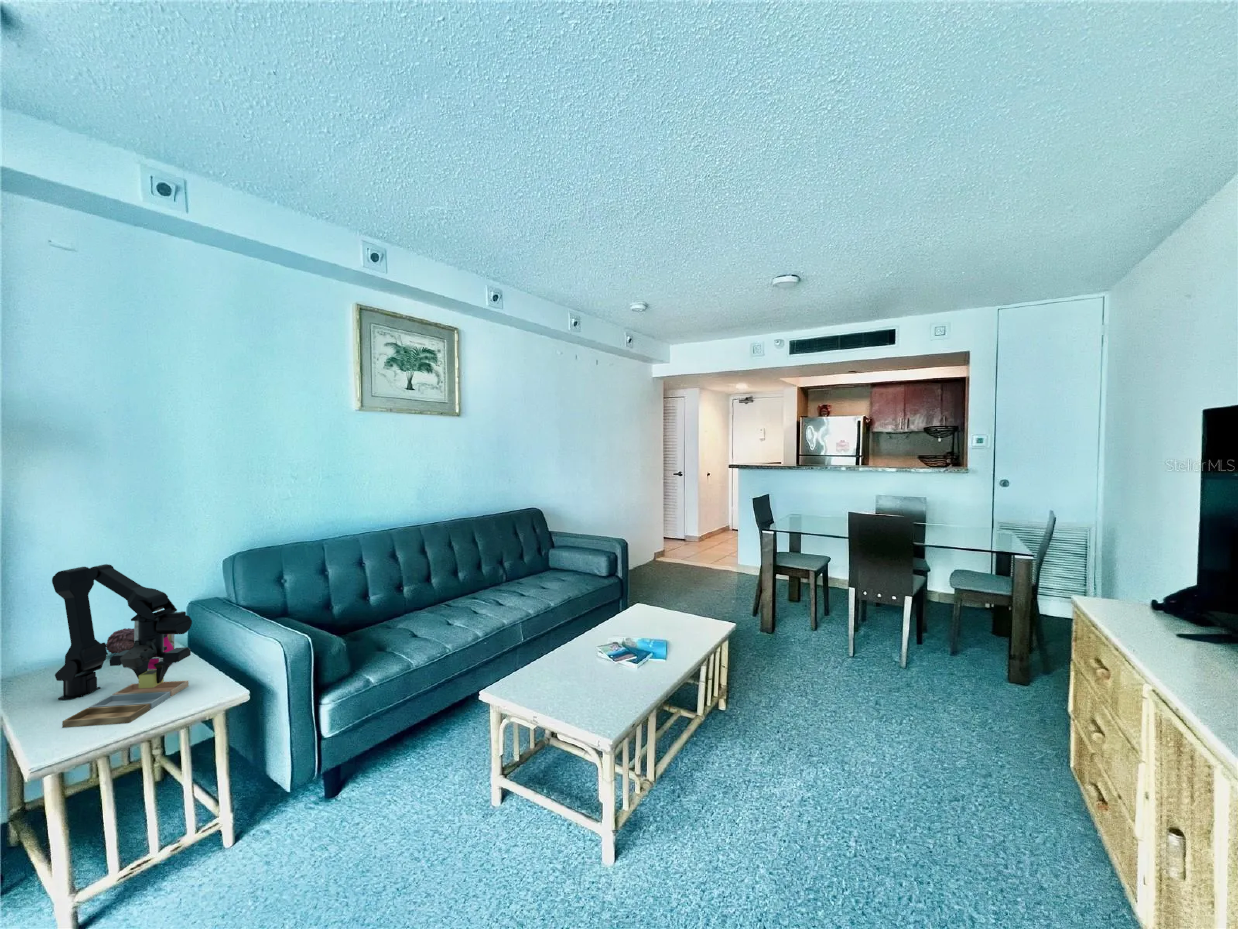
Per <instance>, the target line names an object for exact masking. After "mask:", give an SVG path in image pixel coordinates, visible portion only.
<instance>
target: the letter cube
mask: <svg viewBox="0 0 1238 929" xmlns="http://www.w3.org/2000/svg"><path fill="white" fill-rule="evenodd" d="M164 677H165V676H164ZM164 677H163V679H162V681H161V682H160V683H162V682H165V681H164V679H165V678H164ZM138 683H139V688H153V687H155V686H157V685H159V684H160V683H157V680H156V669H148V671H146V672H144V673H143V674H141V675H139V679H138Z"/></svg>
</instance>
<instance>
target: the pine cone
mask: <svg viewBox="0 0 1238 929" xmlns="http://www.w3.org/2000/svg"><path fill="white" fill-rule="evenodd" d="M106 641H107V642H106V643H105V644H106V651H107V653H111V654H118V653H120V652H122V651H125V650H130V649H132V648H133V646H134V628H122V629H118V630H116V631H113V633H112V634H111V635H110V636H108V637H107V640H106Z"/></svg>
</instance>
